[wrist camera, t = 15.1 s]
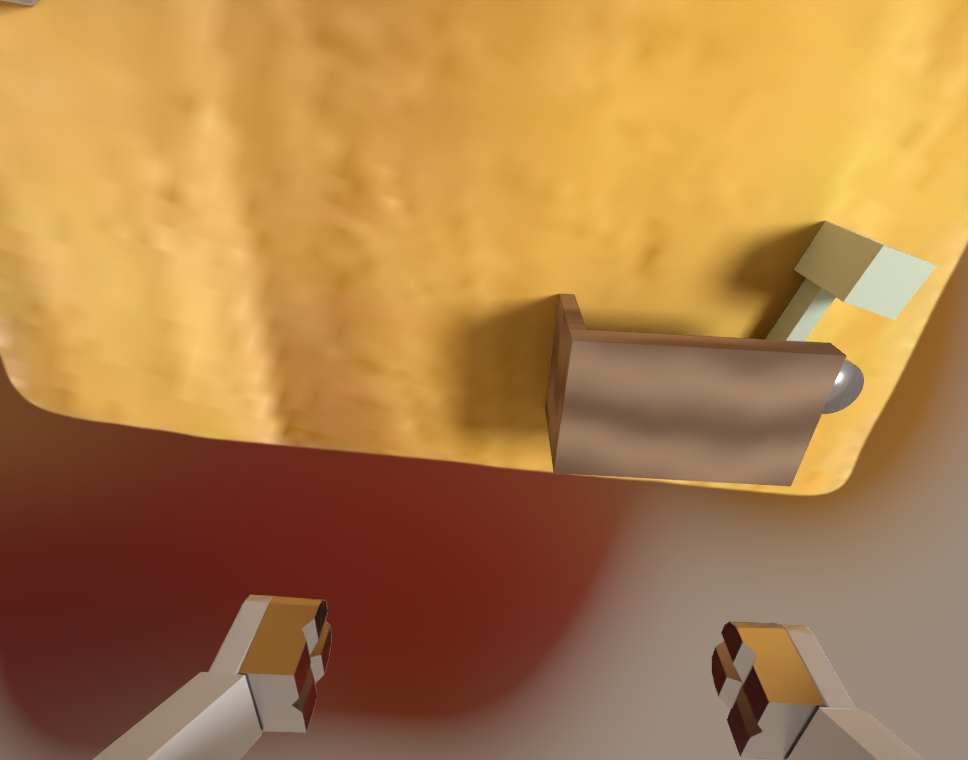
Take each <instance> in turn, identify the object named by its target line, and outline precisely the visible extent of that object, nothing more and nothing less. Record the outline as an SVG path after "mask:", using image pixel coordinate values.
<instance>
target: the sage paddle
mask: <svg viewBox="0 0 968 760" xmlns="http://www.w3.org/2000/svg"><path fill="white" fill-rule="evenodd" d="M935 267H936V265H934V264H931V263H929V262H927V261H924V260H922V259H919V258H917V257H915V256H912V255H910V254H908V253H905V252H903V251H900V250H898V249H896V248H893V247H891V246H888V245H886V244H884V243H881V242H879V241H877V240H874V239H872V238H869V237H867V236H864V235H861V234H859V233H856V232H854V231H851V230H849V229H846V228H843V227H841V226H838V225H836V224H833V223H830V222H828V221H825V222H824V224H823V225H822V227H821V228H820V230H819V231H818V233H817V234H816V236H815V237H814V239H813V240H812V242H811V244H810V245H809V247H808V248H807V250H806V251H805V253H804V254H803V256H802V257H801V259H800V261H799V262H798V264H797V265H796V267H795V268H794V270H795V271H796V272H798V273H799V274H801V275H803V276H804V277H806V279H805V280H804V282H803V283H802V285H801V286H800V288H799V289H798V291H797V292H796V294H795V295H794V297H793V298H792V300H791V301H790V303H789V304H788V306H787V307H786V309H785V310H784V312H783V313H782V315H781V316H780V318H779V319H778V321H777V322H776V324H775V325H774V327H773V328H772V330H771V331H770V333H769V334H768V336H767V337H766V339H767V340H785V341H803V342H804V341H805V340H806V339H807V337H808V336H809V334H810V333H811V331H812V330H813V329H814V327H815V326H816V324H817V323H818V322H819V320H820V319H821V317H822V316H823V315H824V313H825V312H826V310H827V309H828V307H829V306H830V305H831V303H832V302H833V300H834V299H835V298H836V297H837V298H838V299H840V300H842V301H843V302H846V303H848V304H851V305H854V306H857V307H859V308H862V309H865V310H868V311H870V312H873V313H876V314H878V315H881V316H884V317H887V318H889V319H892V320H895V318H896V317H897V316H898V315H899V313H900V312H901V311H902V309H903V308H904V307H905V306H906V304H907V303H908V302H909V301H910V299H911V298H912V297H913V295H914V294H915V293H916V292H917V290H918V289H919V288H920V287H921V285H922V284H923V283H924V281H925V280H926V279H927V278H928V276H929V275H930V274H931V273H932V271H933V270H934V269H935Z"/></svg>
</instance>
